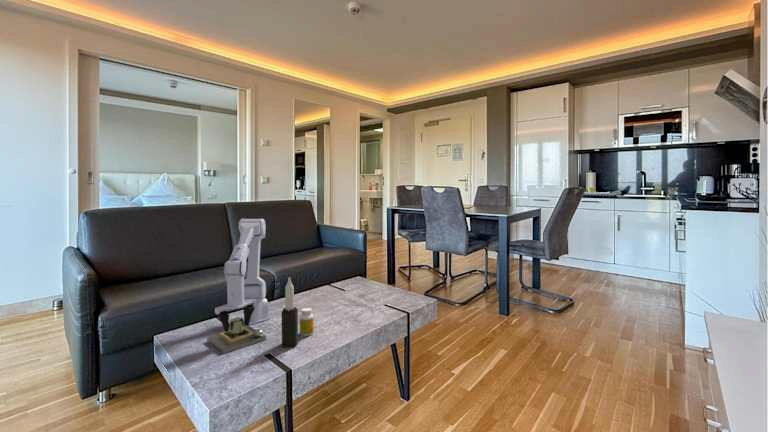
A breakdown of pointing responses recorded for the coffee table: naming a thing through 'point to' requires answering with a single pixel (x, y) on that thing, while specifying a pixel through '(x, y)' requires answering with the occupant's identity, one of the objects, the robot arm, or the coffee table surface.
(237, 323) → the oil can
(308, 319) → the supplement bottle
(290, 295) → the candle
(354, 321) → the coffee table surface
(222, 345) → the square peg board
